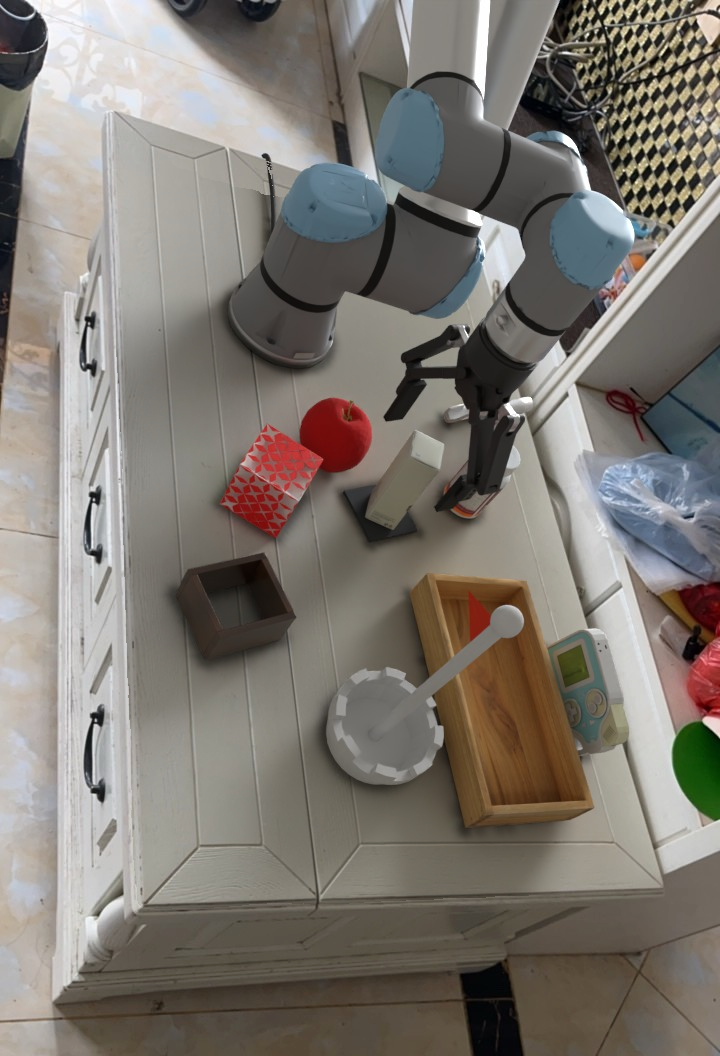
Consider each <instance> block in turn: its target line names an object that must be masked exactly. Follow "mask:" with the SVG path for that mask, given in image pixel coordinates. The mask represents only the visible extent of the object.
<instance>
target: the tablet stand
mask: <svg viewBox="0 0 720 1056" xmlns="http://www.w3.org/2000/svg"><path fill="white" fill-rule="evenodd" d="M509 405H510V406H511V408H512V409H513V410H514V412H515V413H516V414H518V413H522V414H524V413H528V412H529V413H530V412H531V411H532V410H533V407H534V402H533V399H532V398H531V397H530V396H524V397H523V396H522V397H518V398H517V397H516V398H514V399H510V401H509ZM487 414H488V411H486V412H480V416H486V415H487ZM498 418H499V415H498ZM443 419H444V422H446V423H447V424H454V423H455V424H456V423H458V422H460V421H465V420H468V419H469V410H467V409H466V407H465V405H464V403H462V404H457V405H452V406H449V407H448V408H447V409H446V410H445V411H444V412H443ZM496 426H497V425H496V424H495V425H494V430H495V428H496Z"/></svg>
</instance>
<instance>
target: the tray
mask: <svg viewBox="0 0 720 1056" xmlns="http://www.w3.org/2000/svg"><path fill="white" fill-rule="evenodd" d="M468 590H469V591H470V592H471V593H472V595H473V596H474V597H475V598H476V599H477V600H478V601H479V603H480V604H481V605H482V606H483V607H484V608H485V609H486V610H487V612H488V613H489V614H490V615H492V613H493V612H494V611H495V610H496V609H497V608H498V607H500V606H503V605H511V606H514V607H516V608H517V609H519V610H520V612H521V613H522V615H523V619H524V624H523V628H522V630H521V631H520V633H519V634H517V635H516V636H514V637H512V638H502V637H501V638H500V639H499V640H498V641H497V642H495V643H494V644H493V645H492V646H491V647H489V648H488V649H487V650H486V651H485V652H483V653H482V654H481V655H480V656H479V657H477V658H476V659H475V660H474V661H473V662H471V663H470V664H469V665H468V666H467V667H465V668H464V669H463V670H462V671H461V672H459V673H458V674H457V675H456V676H455V677H453V678H452V679H451V680H450V681H449V682H447V683H446V684H445V685H444V686H443V687H441V688H440V689H439V690H438V691H437V692H435V693H434V694H433V699H434V701H435V703H436V704H437V705H436V706H435V707H436V710H437V714H438V718H439V723H440V726H443V729H444V738H443V741H444V743H445V747H446V748H445V749H446V752H447V757H448V760H449V765H450V768H451V773H452V777H453V781H454V786H455V789H456V793H457V798H458V803H459V808H460V811H461V816H462V820H463V824H464V827H465V828H466V829H469V828H470V829H472V828H483V827H484V828H485V827H499V826H510V825H511V826H514V825H524V824H537V823H549V822H563V821H571V820H572V819H573V820H574V819H575V818H578V817H581V816H582V815H584V814H586V813H589V812H590V811H592V810H594V809H596V808H595V804H594V801H593V797H592V794H591V790H590V788H589V787H590V786H589V785H588V781H587V778H586V774H585V771H584V768H583V764H582V761H581V756H579V754H578V751H577V747H576V744H575V741H574V737H573V734H572V731H571V727H570V724H569V721H568V717H567V714H566V710H565V707H564V704H563V701H562V697H561V694H560V691H559V688H558V684H557V681H556V677H555V674H554V671H553V667H552V664H551V660H550V657H549V654H548V650H547V647H546V646H547V643H546V640H545V637H544V634H543V631H542V627H541V624H540V620H539V617H538V613H537V610H536V607H535V603H534V600H533V597H532V594H531V590H530V587H529V583H528V581H527V580H523V579H509V578H495V577H483V576H471V575H457V574H444V573H430V572H427V573H426V574H424V576H423V577H422V578H421V579H420V580H419V582H417V584H416V585H415V586H414V587H413V588H412V589H411V591H410V592H409V596H410V601H411V605H412V609H413V613H414V617H415V621H416V625H417V629H418V634H419V638H420V642H421V646H422V651H423V655H424V659H425V663H426V667H427V671H428V676H429V677H428V678H430V677H431V676H432V675H433V674H434V673H436V672H437V671H438V670H439V669H440V668H441V667H442V666H444V665H445V664H446V663H447V662H448V661H449V660H450V659H452V658H453V657H454V656H455V655H456V654H457V653H458V652H460V651H461V650H462V649H463V648H464V647H465V646H467V645H468V644H469V643H470V623H469V593H468Z"/></svg>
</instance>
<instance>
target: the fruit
mask: <svg viewBox="0 0 720 1056" xmlns="http://www.w3.org/2000/svg"><path fill="white" fill-rule="evenodd" d="M371 424H372V423H371V421H370V419H369V417H368V416H367V414H366V412H364V410H363V409H361V408H360V407H359V406H357V404H354V400H353V399H350V400H349V401H348V400H346V399H344V398H341V397H340V398H339V397H328V398H324V399H322V400H320V401H317V402H316V403H315V404H314V405H312V406H311V407H310V408H309V409H308V410H307V411H306V413H305V414H304V416H303V418H302V420H301V422H300V426H299V442H300V443H299V444H300V445H302V446H304V447H305V448H307V449H308V450H310V451H311V452H313V453H315V454H316V455H318V456H319V457H321V458H323V461H322V463H321V465H320V466H319V468H318V470H321V471H323V472H325V473H328V474H331V473H332V474H333V473H343V472H346V471H349V470H352V469H354V468H355V467H357V466H358V465H359V464H360V463H361V462H362V461H363V460H364V458H365V457H366V455H367V453H368V452H369V451H370V448H371V444H372V441H373V433H372V432H373V430H372V429H373V428H372V425H371Z"/></svg>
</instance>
